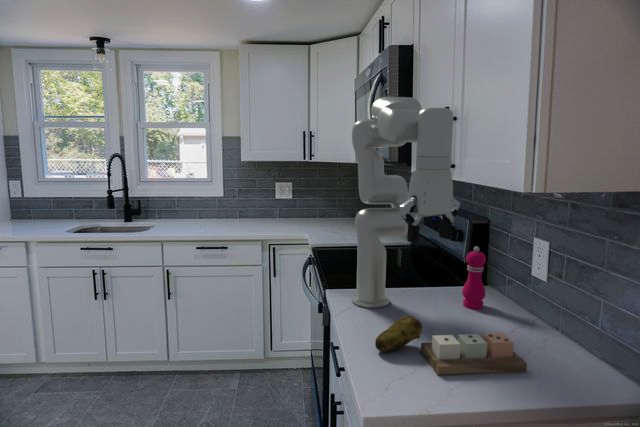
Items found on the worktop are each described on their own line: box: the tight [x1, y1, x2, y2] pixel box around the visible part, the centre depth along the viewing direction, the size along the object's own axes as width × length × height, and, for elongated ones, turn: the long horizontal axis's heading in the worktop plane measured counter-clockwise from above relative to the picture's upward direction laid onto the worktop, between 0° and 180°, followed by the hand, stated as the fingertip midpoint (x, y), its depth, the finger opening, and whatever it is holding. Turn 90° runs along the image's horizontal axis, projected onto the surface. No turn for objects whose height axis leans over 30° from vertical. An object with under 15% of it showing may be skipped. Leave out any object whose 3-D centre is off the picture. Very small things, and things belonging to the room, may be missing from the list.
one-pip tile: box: [431, 334, 461, 360], centre depth 102 cm, size 5×5×4 cm
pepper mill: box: [461, 246, 487, 310], centre depth 139 cm, size 7×7×20 cm
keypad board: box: [420, 341, 528, 377], centre depth 103 cm, size 12×21×2 cm, turn 95°
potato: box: [375, 315, 423, 353], centre depth 109 cm, size 8×13×8 cm, turn 98°
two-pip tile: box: [457, 333, 487, 359], centre depth 102 cm, size 5×5×4 cm
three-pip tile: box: [482, 333, 515, 358], centre depth 103 cm, size 5×5×4 cm
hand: (429, 240), depth 97 cm, fingers open, 9 cm apart
